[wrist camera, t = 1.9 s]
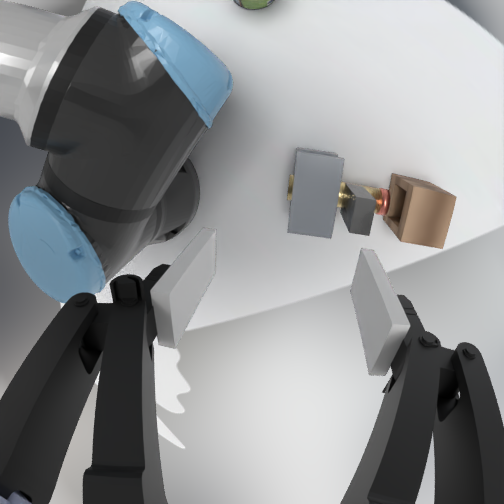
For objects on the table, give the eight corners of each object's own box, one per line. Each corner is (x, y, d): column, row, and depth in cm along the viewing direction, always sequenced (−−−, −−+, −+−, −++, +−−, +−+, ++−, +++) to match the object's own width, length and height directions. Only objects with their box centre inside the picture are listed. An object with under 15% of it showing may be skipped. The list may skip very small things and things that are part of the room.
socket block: (382, 219, 37) (400, 241, 30) (391, 173, 34) (413, 186, 27) (419, 225, 36) (442, 248, 29) (429, 182, 33) (456, 196, 26)
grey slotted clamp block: (289, 214, 39) (287, 232, 32) (296, 147, 35) (297, 152, 28) (326, 219, 38) (331, 238, 32) (335, 153, 34) (344, 159, 28)
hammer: (287, 198, 35) (283, 223, 27) (290, 170, 34) (287, 186, 25) (379, 212, 34) (403, 241, 25) (384, 185, 33) (412, 207, 24)
